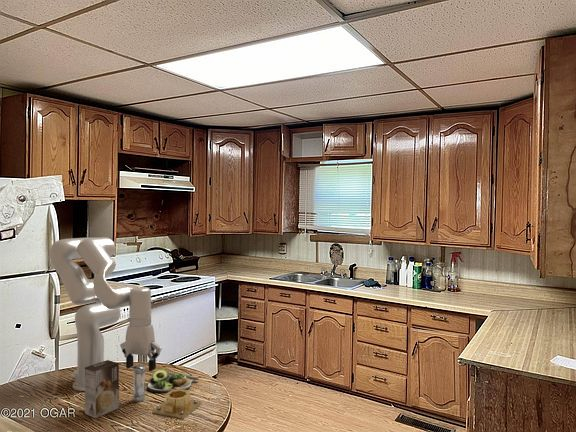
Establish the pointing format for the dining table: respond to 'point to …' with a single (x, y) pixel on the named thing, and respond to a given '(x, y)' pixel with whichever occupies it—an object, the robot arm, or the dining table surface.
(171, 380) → the avocado toast plate
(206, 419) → the dining table surface
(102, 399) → the coffee box
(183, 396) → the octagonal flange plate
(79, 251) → the robot arm
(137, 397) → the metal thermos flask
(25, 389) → the dining table surface
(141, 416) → the dining table surface
